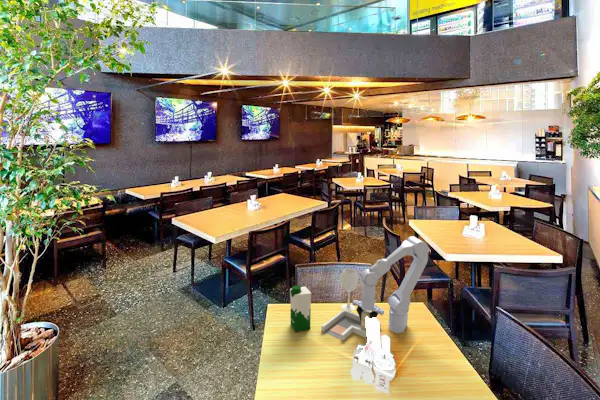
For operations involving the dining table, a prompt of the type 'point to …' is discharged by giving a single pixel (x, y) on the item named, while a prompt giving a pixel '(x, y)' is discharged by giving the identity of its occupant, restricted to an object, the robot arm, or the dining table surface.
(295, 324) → the milk carton
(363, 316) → the peg
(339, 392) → the dining table surface
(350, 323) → the walled channel course
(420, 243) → the robot arm
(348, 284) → the wineglass
